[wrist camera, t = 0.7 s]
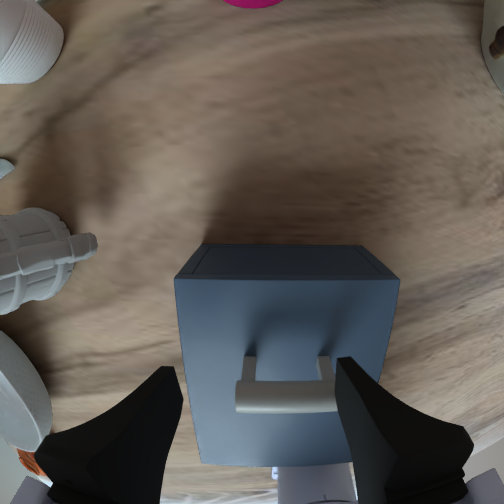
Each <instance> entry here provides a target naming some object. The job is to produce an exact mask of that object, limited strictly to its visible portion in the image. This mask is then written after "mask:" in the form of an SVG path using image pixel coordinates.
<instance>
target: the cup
mask: <svg viewBox="0 0 504 504" xmlns="http://www.w3.org/2000/svg"><path fill="white" fill-rule="evenodd" d="M63 39H64V33H63V29H62V27H61V26H60V25H59V24H58V23H57V22H56V21H55V20H54V19H53V18H52V17H51V16H50V15H49V14H48V13H47V12H46V11H45V10H44V9H43V8H42V7H41V6H40V5H39V4H38V3H37V2H36V1H35V0H0V84H7V83H8V84H10V83H13V84H17V83H32V82H34V81H37V80H38V79H40V78H41V77H42V76H43V75H45V74H46V73H47V72H48V71H49V69H50V68H51V67H52V66H53V64H54V63H55V61H56V60H57V58H58V56H59V54H60V51H61V48H62V45H63Z"/></svg>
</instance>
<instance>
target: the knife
mask: <svg viewBox="0 0 504 504" xmlns="http://www.w3.org/2000/svg"><path fill="white" fill-rule="evenodd" d="M14 169H15V167H14V166H13V165H12V164H11V163H10V162H9V161H7V160H5V159H0V178H2V177H3V176H4V175H6V174H8V173H9V172H11V171H13V170H14Z"/></svg>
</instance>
